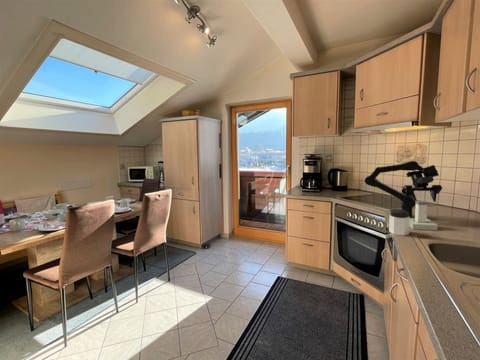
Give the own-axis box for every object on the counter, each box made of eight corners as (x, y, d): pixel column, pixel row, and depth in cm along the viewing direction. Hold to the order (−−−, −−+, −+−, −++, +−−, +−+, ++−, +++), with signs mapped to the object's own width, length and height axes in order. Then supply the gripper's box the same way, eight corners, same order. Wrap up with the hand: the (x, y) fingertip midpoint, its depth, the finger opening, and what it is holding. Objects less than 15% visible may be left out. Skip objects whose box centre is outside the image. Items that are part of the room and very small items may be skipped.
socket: (404, 222, 143) (405, 218, 143) (427, 223, 140) (427, 218, 140) (412, 229, 133) (413, 224, 132) (437, 230, 130) (437, 224, 129)
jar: (401, 236, 123) (402, 214, 122) (386, 232, 131) (386, 210, 129) (412, 233, 127) (412, 211, 126) (396, 229, 134) (396, 208, 133)
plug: (414, 224, 139) (415, 200, 137) (423, 224, 138) (424, 200, 136) (417, 226, 135) (418, 202, 133) (426, 226, 134) (427, 202, 132)
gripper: (404, 171, 143) (411, 193, 133) (441, 170, 138) (451, 193, 128) (398, 182, 151) (405, 204, 142) (433, 182, 146) (442, 204, 137)
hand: (425, 201), depth 137 cm, fingers open, 9 cm apart
